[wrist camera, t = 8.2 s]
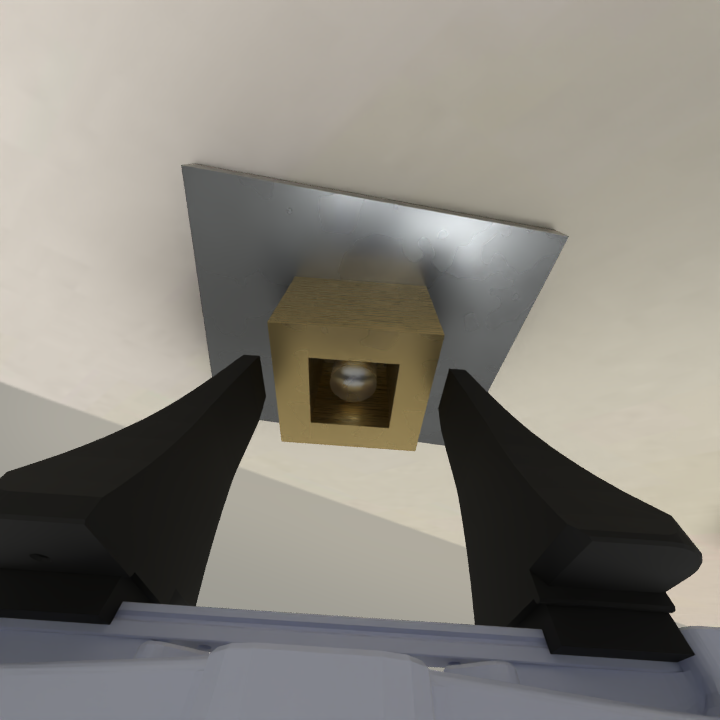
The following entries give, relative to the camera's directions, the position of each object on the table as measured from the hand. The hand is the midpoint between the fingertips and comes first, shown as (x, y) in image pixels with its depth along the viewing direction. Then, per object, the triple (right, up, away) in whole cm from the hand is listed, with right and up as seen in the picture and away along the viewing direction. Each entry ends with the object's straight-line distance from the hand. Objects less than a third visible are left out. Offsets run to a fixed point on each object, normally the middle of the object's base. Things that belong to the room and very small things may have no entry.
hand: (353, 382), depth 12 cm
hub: (0, +2, +2) cm, 3 cm away
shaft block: (0, +2, +3) cm, 4 cm away
